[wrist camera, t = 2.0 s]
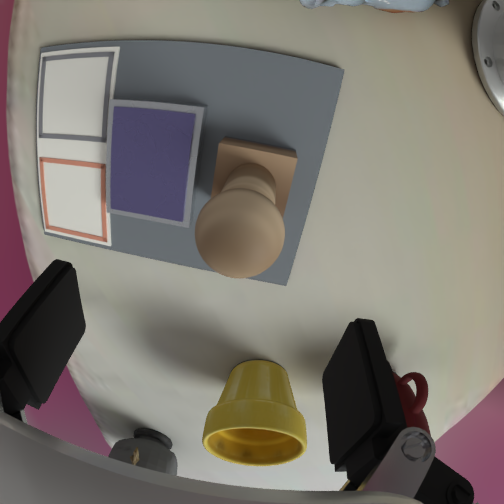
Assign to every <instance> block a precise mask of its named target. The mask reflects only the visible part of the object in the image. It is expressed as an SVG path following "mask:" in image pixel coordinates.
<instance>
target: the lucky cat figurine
mask: <svg viewBox="0 0 504 504" xmlns="http://www.w3.org/2000/svg"><path fill="white" fill-rule="evenodd" d="M300 2H301V4H302V5H303V6H304V7H306V8H311V9H313V8H316V7H318V6H334V5H335V4H342V5H349V6H357V5H361V4H365V5H370V6H373V7H374V8H375V9H378V10H382V11H387V12H391V13H399V12H422V11H425V10H427V9H428V8H429V7H430V6H431V5H432V4H433V3H435V4H436V5H438V6H440V7H442V6H446V5H447V4H449V0H300Z"/></svg>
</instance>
